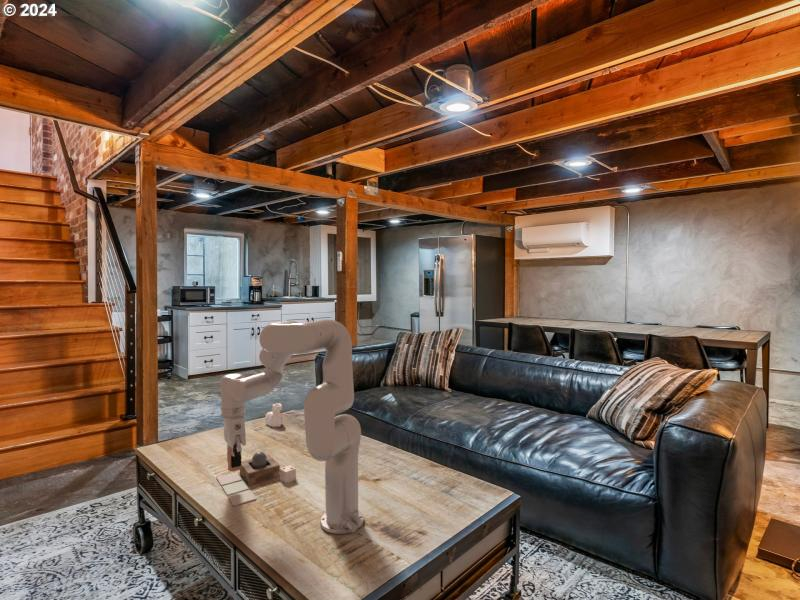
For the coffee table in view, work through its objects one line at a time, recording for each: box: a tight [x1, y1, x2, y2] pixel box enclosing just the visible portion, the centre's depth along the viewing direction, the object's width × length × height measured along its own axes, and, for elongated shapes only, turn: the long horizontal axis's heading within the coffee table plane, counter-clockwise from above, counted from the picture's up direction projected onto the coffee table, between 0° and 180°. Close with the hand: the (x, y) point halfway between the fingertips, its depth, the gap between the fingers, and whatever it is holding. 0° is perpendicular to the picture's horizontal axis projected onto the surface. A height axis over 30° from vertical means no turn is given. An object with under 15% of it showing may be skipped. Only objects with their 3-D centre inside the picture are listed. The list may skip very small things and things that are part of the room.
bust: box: [264, 402, 285, 428], centre depth 210 cm, size 12×8×11 cm
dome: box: [251, 451, 267, 469], centre depth 158 cm, size 5×5×6 cm
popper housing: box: [239, 454, 281, 485], centre depth 158 cm, size 11×11×4 cm
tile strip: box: [216, 471, 257, 507], centre depth 148 cm, size 23×7×1 cm, turn 36°
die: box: [279, 464, 297, 484], centre depth 154 cm, size 4×4×4 cm
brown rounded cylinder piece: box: [227, 445, 241, 472], centre depth 147 cm, size 4×4×10 cm
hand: (234, 463), depth 147 cm, fingers closed on brown rounded cylinder piece, 4 cm apart
